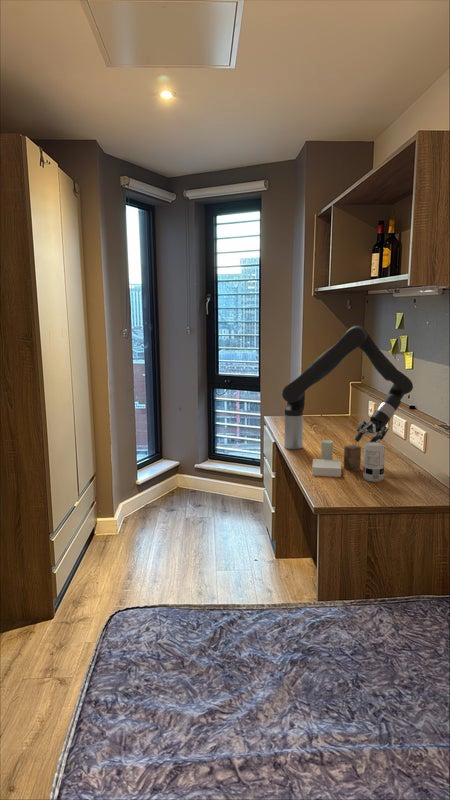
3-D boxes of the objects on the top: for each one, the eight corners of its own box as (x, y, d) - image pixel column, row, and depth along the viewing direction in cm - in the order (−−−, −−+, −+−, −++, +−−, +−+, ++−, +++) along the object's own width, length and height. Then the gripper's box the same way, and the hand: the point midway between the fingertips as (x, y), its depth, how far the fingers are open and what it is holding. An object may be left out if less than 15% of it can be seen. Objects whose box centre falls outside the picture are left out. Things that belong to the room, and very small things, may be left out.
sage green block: (321, 460, 235) (321, 440, 233) (332, 461, 234) (332, 440, 232) (321, 464, 230) (321, 442, 228) (332, 464, 229) (332, 443, 227)
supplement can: (358, 477, 211) (360, 442, 208) (375, 474, 214) (376, 440, 211) (370, 483, 204) (372, 447, 201) (387, 480, 206) (389, 445, 204)
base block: (313, 467, 226) (313, 459, 226) (340, 468, 224) (340, 460, 223) (312, 476, 215) (312, 467, 214) (340, 477, 212) (341, 468, 212)
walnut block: (343, 467, 224) (344, 446, 222) (352, 466, 226) (353, 444, 225) (351, 471, 220) (352, 448, 218) (360, 469, 222) (360, 447, 220)
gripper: (367, 407, 232) (347, 434, 228) (390, 412, 219) (370, 441, 216) (375, 417, 235) (356, 444, 232) (399, 422, 223) (379, 451, 219)
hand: (363, 442), depth 224 cm, fingers open, 8 cm apart
